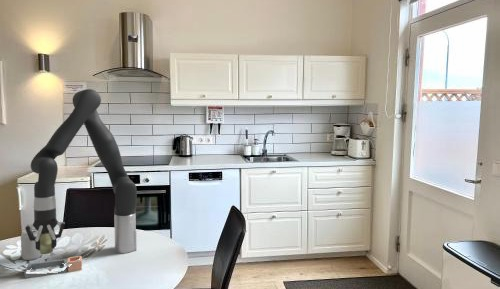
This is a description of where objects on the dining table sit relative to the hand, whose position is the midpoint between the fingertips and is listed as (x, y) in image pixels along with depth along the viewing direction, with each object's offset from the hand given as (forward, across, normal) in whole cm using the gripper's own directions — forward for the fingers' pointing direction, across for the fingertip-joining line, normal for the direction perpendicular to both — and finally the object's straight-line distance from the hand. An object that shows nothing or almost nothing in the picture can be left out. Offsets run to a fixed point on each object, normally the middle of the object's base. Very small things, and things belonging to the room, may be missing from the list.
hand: (46, 248), depth 141 cm
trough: (+9, 0, 0) cm, 9 cm away
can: (+9, +7, -16) cm, 20 cm away
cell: (+1, 0, 0) cm, 1 cm away
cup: (+9, -10, +2) cm, 14 cm away
